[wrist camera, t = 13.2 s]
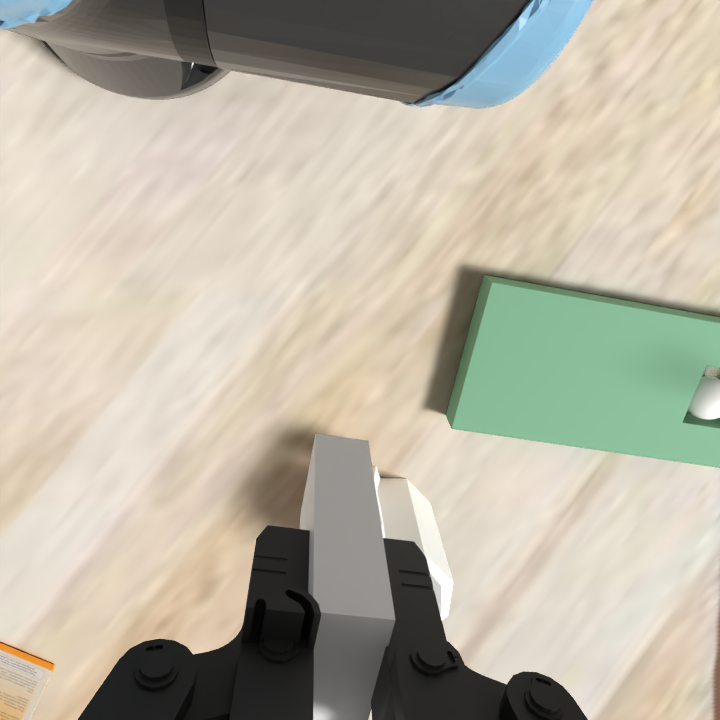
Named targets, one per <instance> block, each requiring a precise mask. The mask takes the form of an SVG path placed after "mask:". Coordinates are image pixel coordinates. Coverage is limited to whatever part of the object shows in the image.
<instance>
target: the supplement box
mask: <svg viewBox="0 0 720 720" xmlns="http://www.w3.org/2000/svg"><path fill="white" fill-rule="evenodd" d="M54 666H55V665H54V664H51V663H49V662H46V661H44V660H41V659H39V658H36V657H34V656H31V655H29V654H26V653H24V652H21V651H19V650H16V649H14V648H12V647H9V646H7V645H4V644H2V643H0V720H30V719H31V717H32V714H33V712H34V710H35V708H36V706H37V704H38V702H39V699H40V697H41V695H42V693H43V691H44V689H45V687H46V684H47V682H48V680H49V678H50V676H51V674H52V671H53V669H54Z"/></svg>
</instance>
